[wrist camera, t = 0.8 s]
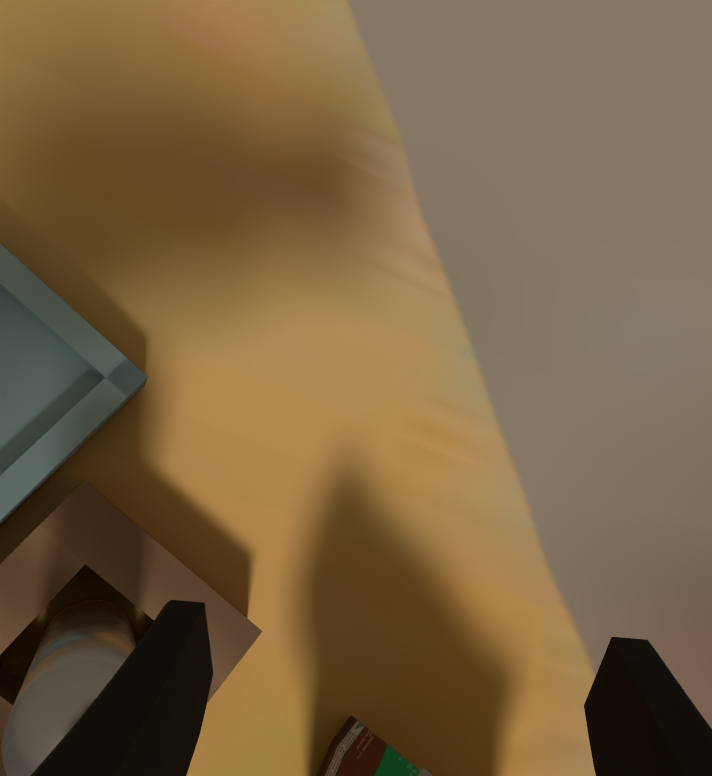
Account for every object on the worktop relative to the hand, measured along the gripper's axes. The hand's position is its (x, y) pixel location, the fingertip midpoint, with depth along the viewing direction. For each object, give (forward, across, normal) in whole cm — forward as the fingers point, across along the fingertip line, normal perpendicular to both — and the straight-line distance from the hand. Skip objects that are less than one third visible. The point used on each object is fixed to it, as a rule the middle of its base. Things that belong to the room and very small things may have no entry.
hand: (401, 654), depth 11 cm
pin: (+6, +10, +10) cm, 15 cm away
